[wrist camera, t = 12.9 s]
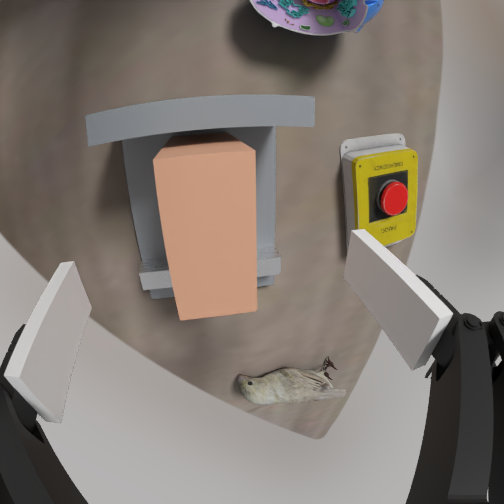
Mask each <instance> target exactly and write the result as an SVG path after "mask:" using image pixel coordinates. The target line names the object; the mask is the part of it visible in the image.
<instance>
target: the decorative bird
mask: <svg viewBox="0 0 504 504" xmlns="http://www.w3.org/2000/svg"><path fill="white" fill-rule="evenodd" d="M325 360H326V359H325ZM328 361H329V362H328ZM328 361H327V360H326V362H327V363H328V364H325V365H326V367H325V369H324V367H323V370H322V369H321V371H320V372H316V371H314V370H303V369H297V368H288V367H287V368H282V369H279V370H277V371H274V372H271V373H269V374H267V375H265V376H263V377H262V378H252V377H248V376H245V375H241V374H239V375H238V383H239V389H240V391H241V393H242V395H243V396H244V398H245V399H247V400H248V401H249V402H251V403H253V404H257V405H268V404H274V403H285V404H300V403H307V402H313V401H317V400H331V399H333V398H341V397H345V396H346V394H345V392H346V390H342V389H334V388H333V386H332V385H331V383H330V382H329V380H328V379H327V378H326V377H328V378H329V379H331V378H330V377H329V374H328V373H327V372H326V369H327V367H329V366H331V367H333V368H334V369H336V368H335V367H334V365H333V363H332V362H331V361H330V360H329V357H328ZM336 370H338V369H336ZM331 380H333V379H331Z"/></svg>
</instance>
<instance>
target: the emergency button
mask: <svg viewBox="0 0 504 504" xmlns="http://www.w3.org/2000/svg"><path fill="white" fill-rule="evenodd" d="M340 157H341V167H342V177H343V189H344V203H345V220H346V243H347V254H348V248H349V242H350V235H351V230H360V229H365V230H366V231H367V232H368V233H369V234H370V235H372V236H373V237H374V238H375V239H376V240H377V241H378V242H380V243H381V244H382V245H383V246H384V247H388V246H391V245H394V244H397V243H399V242H401V240H403V239H406V238H408V237H411V236H412V235H413V234H414V232H415V226H416V212H417V190H418V156H417V153H416V152H415V151H414V150H412V149H409V148H407V147H405V139H404V137H403V135H402V134H399V133H395V134H386V135H377V136H369V137H362V138H355V139H348V140H345V141H343V142H342V144H341V145H340Z"/></svg>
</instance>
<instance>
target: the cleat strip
mask: <svg viewBox="0 0 504 504" xmlns="http://www.w3.org/2000/svg"><path fill="white" fill-rule="evenodd" d="M280 272H281V256H280V254H279V253H278V251H277V249H276V248H275V246H270V247H261V248H257V277H262V276H269V275H277V274H280ZM139 276H140V280H141V283H142V287H143V290H150V289H160V288H169V287H173V286H172V281H171V276H170V271H169V266H168V260H167V258H164V259H155V260H146V261H142V263H141V267H140V271H139Z"/></svg>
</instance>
